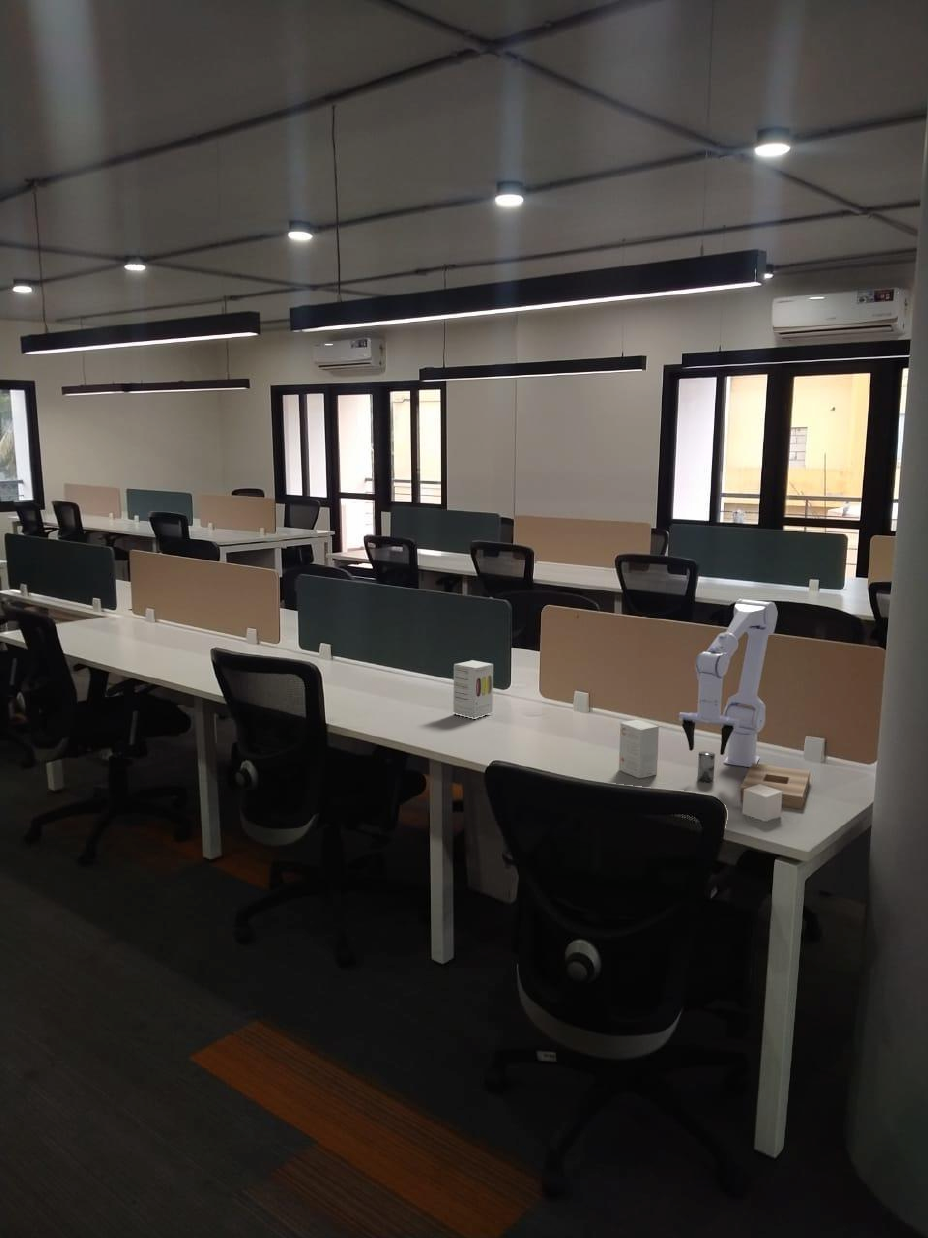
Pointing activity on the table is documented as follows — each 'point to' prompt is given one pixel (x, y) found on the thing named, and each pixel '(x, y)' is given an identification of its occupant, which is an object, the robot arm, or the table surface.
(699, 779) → the steel pin
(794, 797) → the wooden socket block
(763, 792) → the white cube
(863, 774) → the table surface
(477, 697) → the supplement box
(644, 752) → the small box
